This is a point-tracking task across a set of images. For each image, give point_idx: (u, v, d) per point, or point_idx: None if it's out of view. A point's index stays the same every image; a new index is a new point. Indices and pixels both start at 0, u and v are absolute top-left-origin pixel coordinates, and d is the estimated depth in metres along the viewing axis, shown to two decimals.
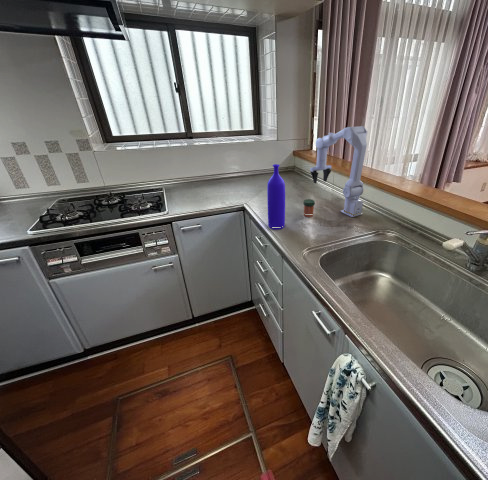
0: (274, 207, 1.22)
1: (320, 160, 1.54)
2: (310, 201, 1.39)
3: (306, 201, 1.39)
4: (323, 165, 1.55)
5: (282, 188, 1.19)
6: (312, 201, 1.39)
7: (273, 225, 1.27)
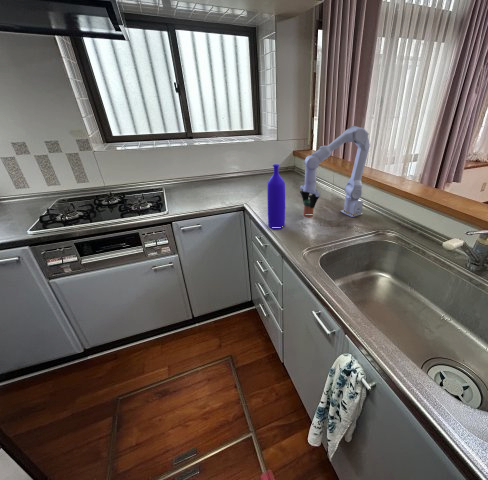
0: (274, 207, 1.22)
1: (315, 181, 1.34)
2: None
3: (306, 201, 1.39)
4: None
5: (282, 188, 1.19)
6: None
7: (273, 225, 1.27)
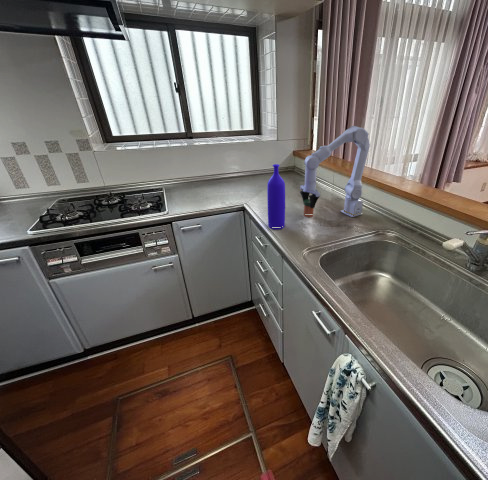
0: (274, 207, 1.22)
1: (315, 181, 1.34)
2: None
3: None
4: None
5: (282, 188, 1.19)
6: (309, 199, 1.41)
7: (273, 225, 1.27)
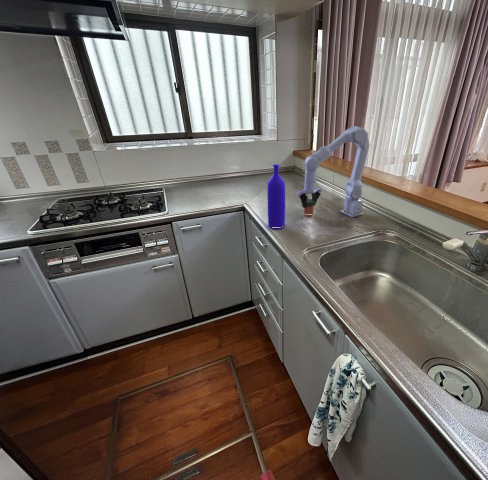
0: (274, 207, 1.22)
1: None
2: (308, 200, 1.40)
3: (312, 200, 1.40)
4: None
5: (282, 188, 1.19)
6: None
7: (273, 225, 1.27)
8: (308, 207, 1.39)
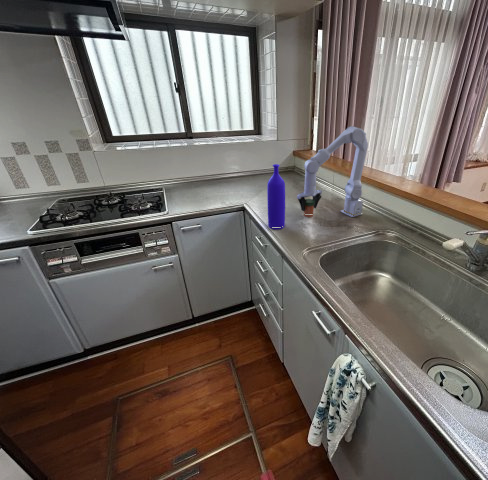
0: (274, 207, 1.22)
1: None
2: (308, 200, 1.40)
3: (312, 200, 1.40)
4: None
5: (282, 188, 1.19)
6: None
7: (273, 225, 1.27)
8: (308, 207, 1.39)
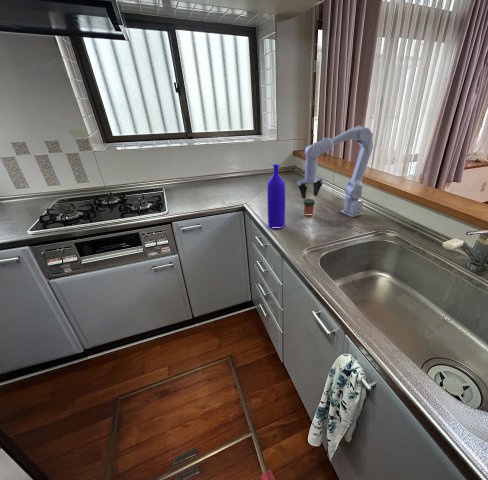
0: (274, 207, 1.22)
1: None
2: (308, 200, 1.40)
3: (312, 200, 1.40)
4: None
5: (282, 188, 1.19)
6: (306, 200, 1.40)
7: (273, 225, 1.27)
8: (308, 207, 1.39)
